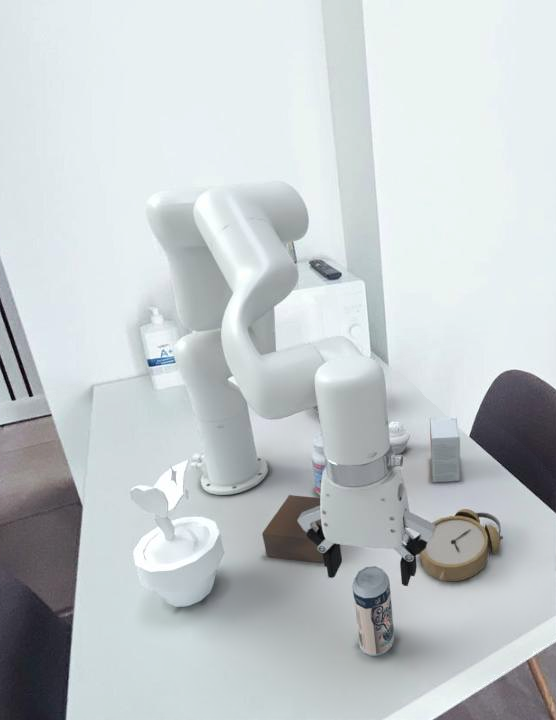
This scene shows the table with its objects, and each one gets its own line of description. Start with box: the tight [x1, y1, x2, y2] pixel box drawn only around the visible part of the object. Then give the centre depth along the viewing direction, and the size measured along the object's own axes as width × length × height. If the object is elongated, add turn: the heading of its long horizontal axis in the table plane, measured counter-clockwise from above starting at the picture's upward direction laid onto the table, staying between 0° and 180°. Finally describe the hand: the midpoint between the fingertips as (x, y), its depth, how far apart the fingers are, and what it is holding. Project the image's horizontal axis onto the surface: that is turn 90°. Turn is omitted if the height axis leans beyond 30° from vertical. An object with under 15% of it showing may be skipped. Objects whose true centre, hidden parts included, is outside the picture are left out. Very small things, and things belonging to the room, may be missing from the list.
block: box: [261, 494, 324, 564], centre depth 93 cm, size 10×10×5 cm
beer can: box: [351, 565, 395, 657], centre depth 73 cm, size 5×5×12 cm
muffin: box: [388, 421, 411, 455], centre depth 118 cm, size 6×6×7 cm
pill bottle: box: [311, 434, 326, 496], centre depth 105 cm, size 6×6×11 cm
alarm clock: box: [418, 508, 504, 582], centre depth 90 cm, size 11×5×15 cm
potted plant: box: [129, 459, 225, 608], centre depth 79 cm, size 13×12×25 cm
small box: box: [429, 416, 461, 483], centre depth 110 cm, size 8×6×10 cm
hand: (371, 573), depth 70 cm, fingers open, 9 cm apart
